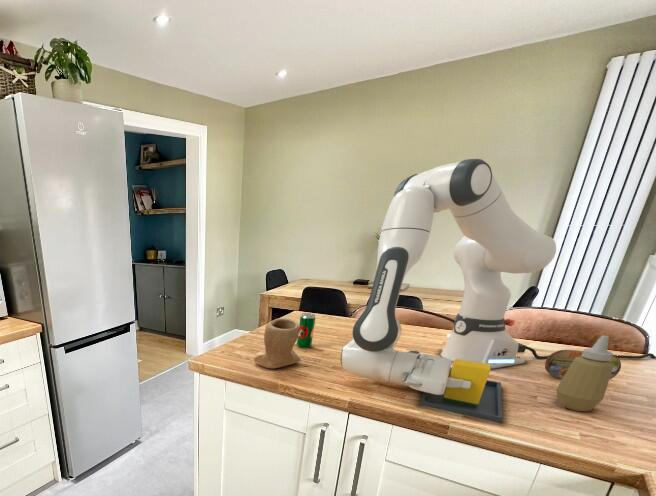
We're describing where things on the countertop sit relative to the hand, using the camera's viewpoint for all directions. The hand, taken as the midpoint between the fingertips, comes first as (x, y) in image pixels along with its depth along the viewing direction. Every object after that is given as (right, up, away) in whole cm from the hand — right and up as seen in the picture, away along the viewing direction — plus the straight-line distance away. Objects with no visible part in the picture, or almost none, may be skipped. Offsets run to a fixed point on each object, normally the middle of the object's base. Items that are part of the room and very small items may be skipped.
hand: (471, 380), depth 98 cm
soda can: (-22, +13, +48) cm, 55 cm away
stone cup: (-37, +5, +31) cm, 49 cm away
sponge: (-1, -5, +3) cm, 6 cm away
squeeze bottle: (+25, -7, 0) cm, 26 cm away
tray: (+2, -4, +6) cm, 8 cm away
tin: (+42, +1, +15) cm, 45 cm away
